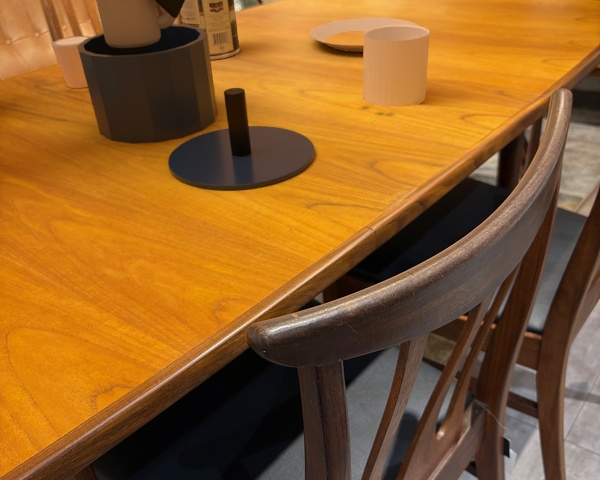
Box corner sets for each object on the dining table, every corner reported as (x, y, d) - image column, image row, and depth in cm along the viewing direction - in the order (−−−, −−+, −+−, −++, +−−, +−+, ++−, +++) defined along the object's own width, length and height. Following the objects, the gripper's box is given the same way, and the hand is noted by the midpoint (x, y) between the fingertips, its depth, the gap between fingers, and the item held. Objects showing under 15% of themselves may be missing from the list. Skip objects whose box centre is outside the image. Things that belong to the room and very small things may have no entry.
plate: (391, 24, 127) (391, 12, 126) (440, 47, 111) (441, 34, 110) (296, 38, 123) (295, 26, 121) (333, 64, 106) (333, 51, 105)
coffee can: (211, 43, 123) (201, -36, 114) (251, 49, 118) (242, -34, 109) (174, 56, 116) (160, -27, 108) (214, 63, 111) (203, -24, 103)
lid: (140, 182, 72) (123, 109, 67) (217, 128, 85) (208, 63, 80) (275, 205, 66) (268, 126, 60) (336, 142, 78) (335, 73, 73)
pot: (75, 139, 84) (50, 52, 78) (146, 100, 96) (130, 22, 90) (175, 153, 78) (158, 60, 72) (238, 110, 90) (228, 27, 84)
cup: (109, 37, 83) (92, -37, 78) (183, 31, 84) (171, -43, 78) (103, 50, 77) (84, -29, 72) (182, 43, 78) (170, -36, 73)
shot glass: (109, 83, 105) (99, 40, 101) (69, 92, 102) (57, 48, 98) (95, 74, 110) (85, 33, 105) (57, 82, 107) (45, 40, 103)
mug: (415, 112, 85) (419, 42, 80) (354, 106, 89) (354, 38, 83) (437, 86, 94) (442, 21, 88) (381, 81, 97) (382, 18, 92)
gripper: (-62, -103, 67) (97, 23, 86) (43, -105, 56) (199, 40, 75) (-33, -165, 67) (119, -25, 86) (77, -180, 56) (224, -16, 75)
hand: (156, 5), depth 81 cm, fingers closed on cup, 8 cm apart
